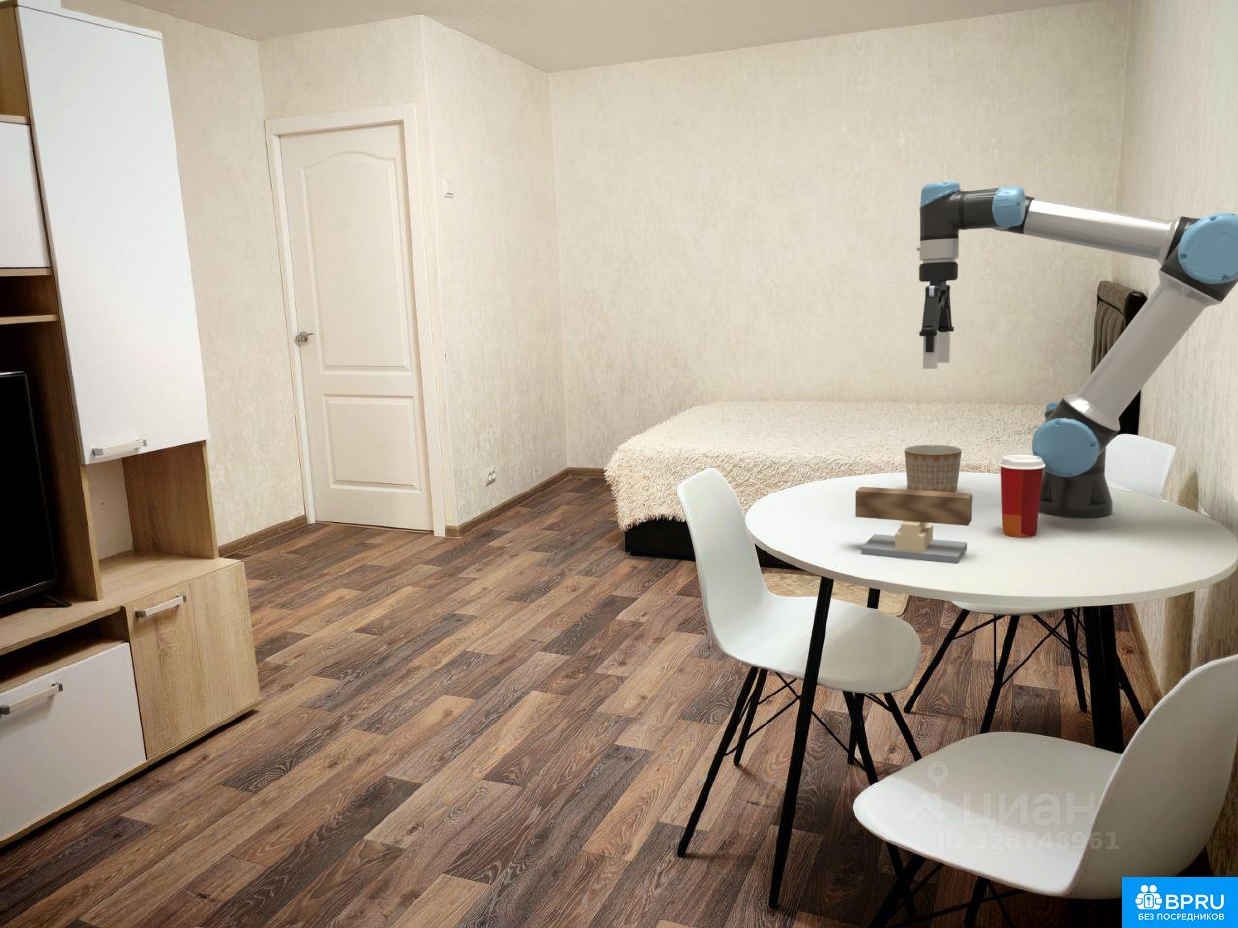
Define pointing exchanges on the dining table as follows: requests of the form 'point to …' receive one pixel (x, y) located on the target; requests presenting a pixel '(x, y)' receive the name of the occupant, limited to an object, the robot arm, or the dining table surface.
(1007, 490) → the coffee cup
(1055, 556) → the dining table surface
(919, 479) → the planter
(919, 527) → the fulcrum
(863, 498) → the bar
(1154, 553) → the dining table surface
